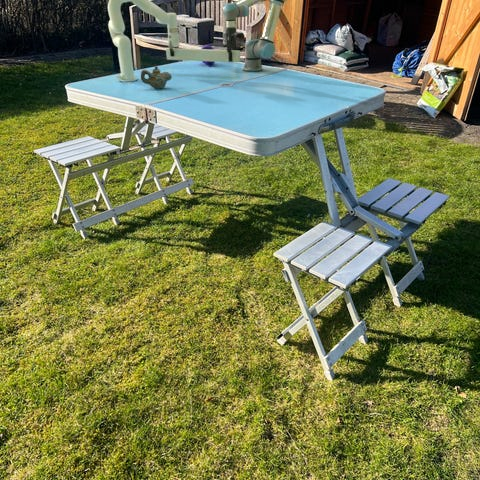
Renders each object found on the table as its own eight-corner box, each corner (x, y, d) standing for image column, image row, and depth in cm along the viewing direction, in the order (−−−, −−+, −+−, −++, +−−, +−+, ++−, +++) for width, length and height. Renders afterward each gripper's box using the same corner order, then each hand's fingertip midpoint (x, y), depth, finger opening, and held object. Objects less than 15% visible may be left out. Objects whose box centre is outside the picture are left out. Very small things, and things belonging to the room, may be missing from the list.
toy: (209, 67, 381) (200, 66, 405) (227, 60, 385) (217, 60, 408) (203, 48, 374) (194, 48, 397) (222, 41, 377) (212, 42, 401)
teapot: (171, 85, 322) (169, 63, 314) (174, 88, 312) (172, 66, 305) (141, 88, 316) (138, 65, 309) (143, 91, 307) (140, 68, 299)
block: (166, 59, 354) (165, 49, 350) (170, 58, 359) (169, 48, 355) (237, 62, 335) (237, 51, 331) (240, 61, 340) (240, 50, 336)
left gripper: (171, 31, 336) (173, 57, 345) (182, 29, 350) (184, 54, 359) (162, 31, 339) (164, 57, 348) (173, 29, 352) (175, 54, 361)
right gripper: (231, 28, 318) (232, 63, 330) (240, 25, 333) (241, 58, 345) (221, 28, 320) (222, 62, 332) (231, 25, 336) (232, 58, 348)
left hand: (174, 55), depth 353 cm, fingers closed on block, 6 cm apart
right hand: (232, 60), depth 339 cm, fingers closed on block, 6 cm apart
